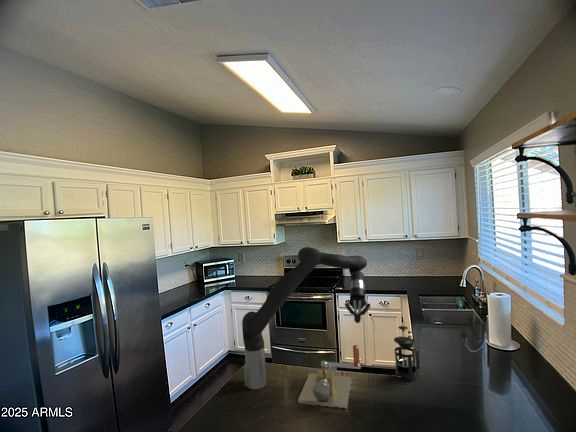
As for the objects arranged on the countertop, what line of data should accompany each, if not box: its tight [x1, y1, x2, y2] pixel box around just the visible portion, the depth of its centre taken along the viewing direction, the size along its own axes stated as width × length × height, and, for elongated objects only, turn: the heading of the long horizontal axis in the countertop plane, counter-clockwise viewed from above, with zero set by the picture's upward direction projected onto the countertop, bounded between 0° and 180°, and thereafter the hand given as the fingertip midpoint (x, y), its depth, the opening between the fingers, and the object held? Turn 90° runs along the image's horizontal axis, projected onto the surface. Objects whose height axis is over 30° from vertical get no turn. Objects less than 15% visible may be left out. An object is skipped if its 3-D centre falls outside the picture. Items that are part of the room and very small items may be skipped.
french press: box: [393, 325, 420, 382], centre depth 143 cm, size 12×9×23 cm
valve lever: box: [320, 344, 362, 370], centre depth 130 cm, size 17×3×9 cm, turn 74°
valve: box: [297, 366, 352, 410], centre depth 134 cm, size 20×22×12 cm
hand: (357, 322), depth 145 cm, fingers closed
